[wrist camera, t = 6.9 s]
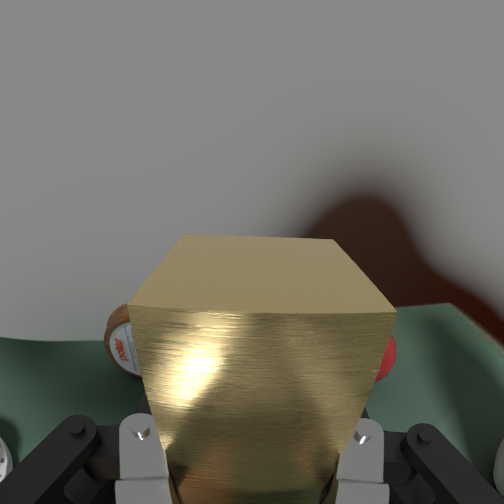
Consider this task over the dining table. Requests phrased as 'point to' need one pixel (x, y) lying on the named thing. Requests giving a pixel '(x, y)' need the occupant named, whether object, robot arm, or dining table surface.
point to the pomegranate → (387, 359)
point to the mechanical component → (5, 460)
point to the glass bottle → (499, 469)
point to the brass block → (257, 363)
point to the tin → (121, 341)
